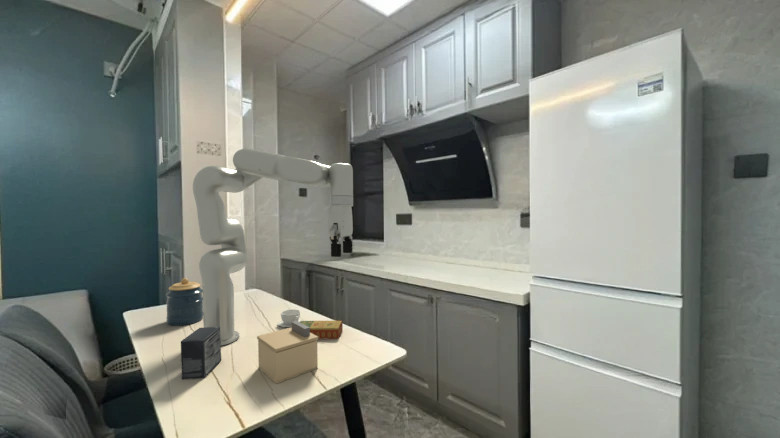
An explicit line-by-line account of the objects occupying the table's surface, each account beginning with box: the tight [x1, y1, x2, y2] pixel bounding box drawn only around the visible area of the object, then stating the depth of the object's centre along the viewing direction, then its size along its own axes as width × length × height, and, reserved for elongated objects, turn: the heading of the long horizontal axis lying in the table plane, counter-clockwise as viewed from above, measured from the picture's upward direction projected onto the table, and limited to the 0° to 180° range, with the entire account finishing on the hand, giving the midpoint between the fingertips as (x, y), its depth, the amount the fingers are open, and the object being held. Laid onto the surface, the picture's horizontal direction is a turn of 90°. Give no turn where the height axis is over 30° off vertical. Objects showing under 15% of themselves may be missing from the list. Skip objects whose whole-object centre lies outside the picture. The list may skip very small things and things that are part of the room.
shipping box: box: [257, 339, 319, 384], centre depth 94 cm, size 12×12×8 cm
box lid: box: [256, 321, 319, 352], centre depth 93 cm, size 12×12×3 cm
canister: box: [165, 277, 203, 326], centre depth 135 cm, size 13×13×18 cm
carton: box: [300, 320, 343, 340], centre depth 120 cm, size 8×16×4 cm, turn 88°
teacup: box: [277, 309, 304, 328], centre depth 132 cm, size 10×10×5 cm
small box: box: [180, 327, 222, 380], centre depth 93 cm, size 11×6×10 cm, turn 5°
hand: (342, 254), depth 107 cm, fingers open, 9 cm apart
